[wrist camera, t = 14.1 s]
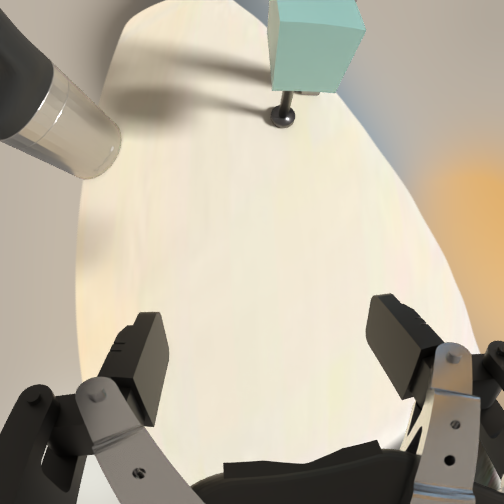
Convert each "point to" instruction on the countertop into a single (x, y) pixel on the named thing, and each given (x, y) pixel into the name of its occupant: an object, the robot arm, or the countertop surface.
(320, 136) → the countertop surface
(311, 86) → the sleeve
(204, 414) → the countertop surface
